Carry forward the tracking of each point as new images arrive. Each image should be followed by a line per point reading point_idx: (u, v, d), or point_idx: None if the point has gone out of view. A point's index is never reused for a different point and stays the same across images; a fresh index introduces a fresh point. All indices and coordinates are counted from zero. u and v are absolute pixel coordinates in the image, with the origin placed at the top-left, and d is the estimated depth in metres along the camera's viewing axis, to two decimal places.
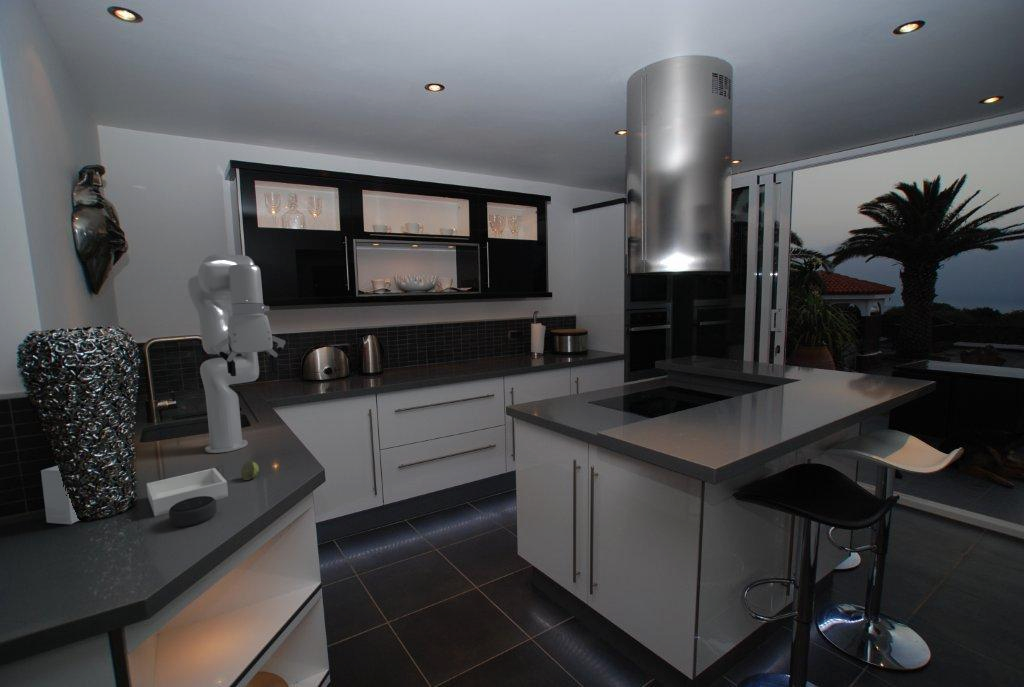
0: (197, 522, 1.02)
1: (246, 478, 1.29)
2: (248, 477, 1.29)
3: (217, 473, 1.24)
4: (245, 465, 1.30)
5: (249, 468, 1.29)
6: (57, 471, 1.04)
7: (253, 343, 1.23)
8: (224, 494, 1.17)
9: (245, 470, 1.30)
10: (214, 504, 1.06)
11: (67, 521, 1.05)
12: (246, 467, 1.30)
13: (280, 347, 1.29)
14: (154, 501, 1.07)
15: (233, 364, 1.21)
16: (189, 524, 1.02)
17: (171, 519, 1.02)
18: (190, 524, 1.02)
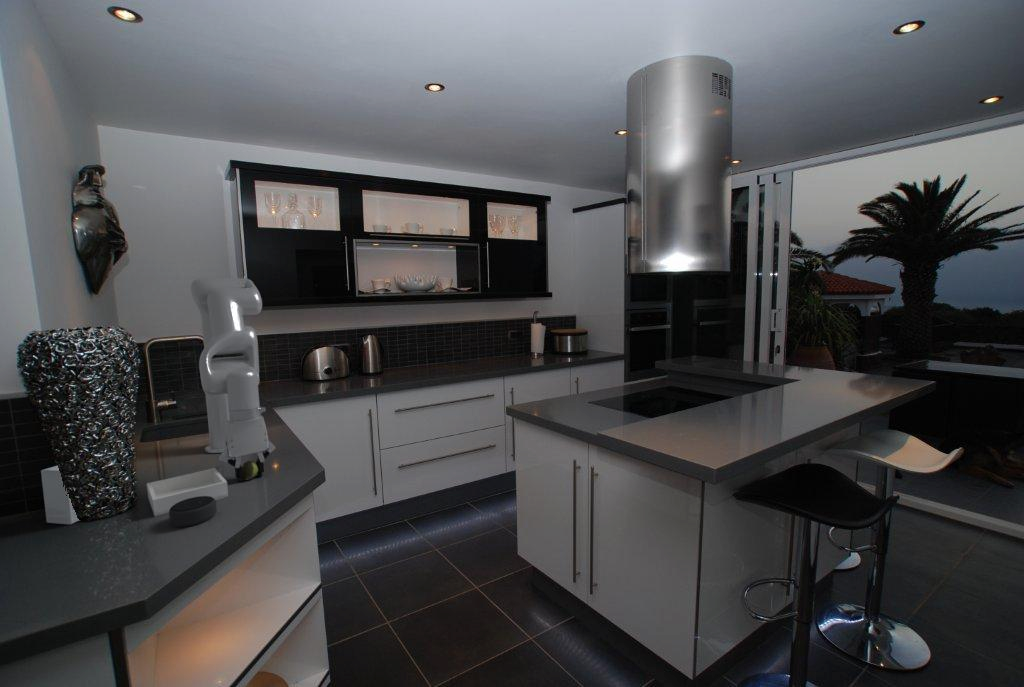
0: (197, 522, 1.02)
1: (245, 478, 1.29)
2: (247, 477, 1.29)
3: (217, 473, 1.24)
4: (244, 465, 1.30)
5: (248, 468, 1.29)
6: (57, 471, 1.04)
7: (249, 446, 1.28)
8: (224, 494, 1.17)
9: (244, 470, 1.30)
10: (214, 504, 1.06)
11: (67, 521, 1.05)
12: (245, 467, 1.30)
13: (268, 451, 1.33)
14: (154, 501, 1.07)
15: (241, 470, 1.27)
16: (189, 524, 1.02)
17: (171, 519, 1.02)
18: (190, 524, 1.02)
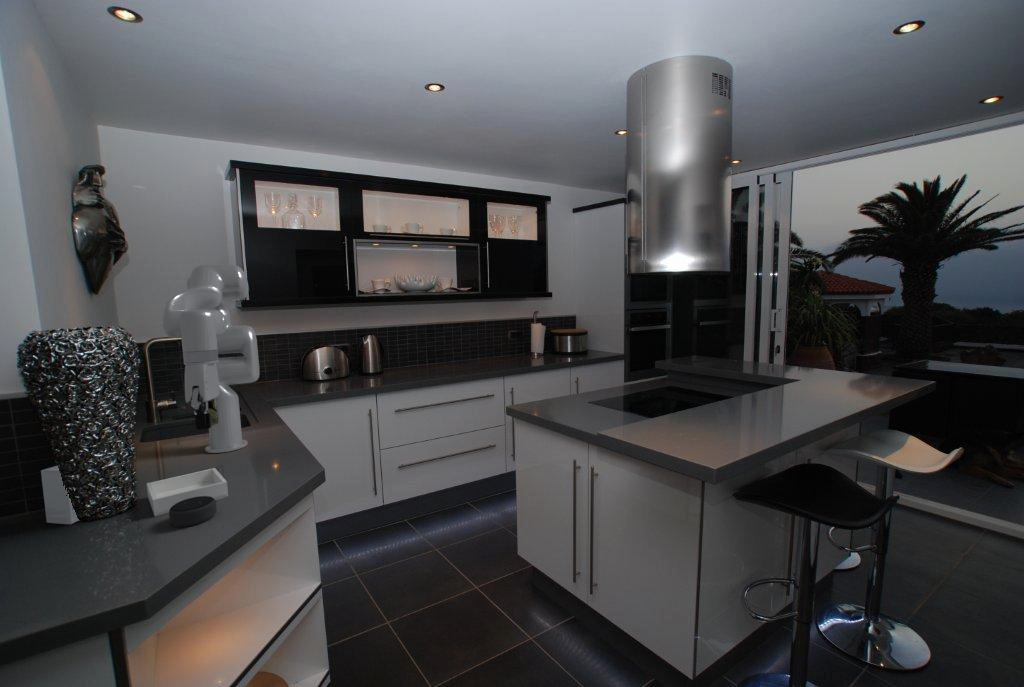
0: (197, 522, 1.02)
1: None
2: (212, 424, 1.21)
3: (217, 473, 1.24)
4: None
5: None
6: (57, 471, 1.04)
7: (214, 390, 1.21)
8: (224, 494, 1.17)
9: None
10: (214, 504, 1.06)
11: (67, 521, 1.05)
12: None
13: (215, 398, 1.26)
14: (154, 501, 1.07)
15: (209, 416, 1.19)
16: (189, 524, 1.02)
17: (171, 519, 1.02)
18: (190, 524, 1.02)
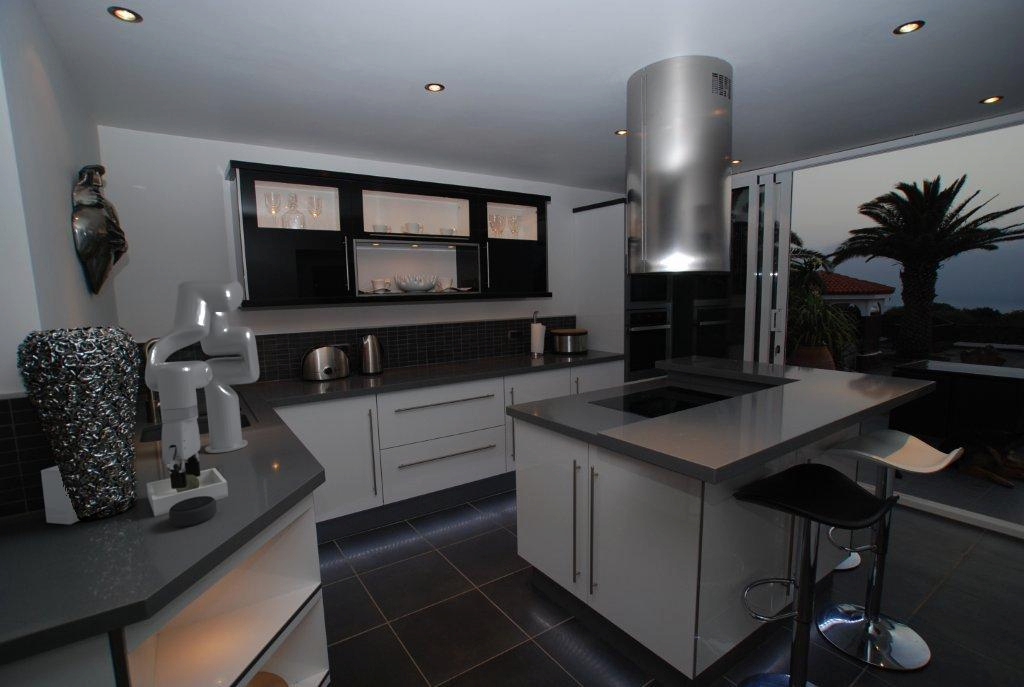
0: (197, 522, 1.02)
1: None
2: None
3: (217, 473, 1.24)
4: None
5: (190, 482, 1.18)
6: (57, 471, 1.04)
7: (193, 446, 1.18)
8: (224, 494, 1.17)
9: None
10: (214, 504, 1.06)
11: (67, 521, 1.05)
12: None
13: None
14: (154, 501, 1.07)
15: (185, 474, 1.14)
16: (189, 524, 1.02)
17: (171, 519, 1.02)
18: (190, 524, 1.02)
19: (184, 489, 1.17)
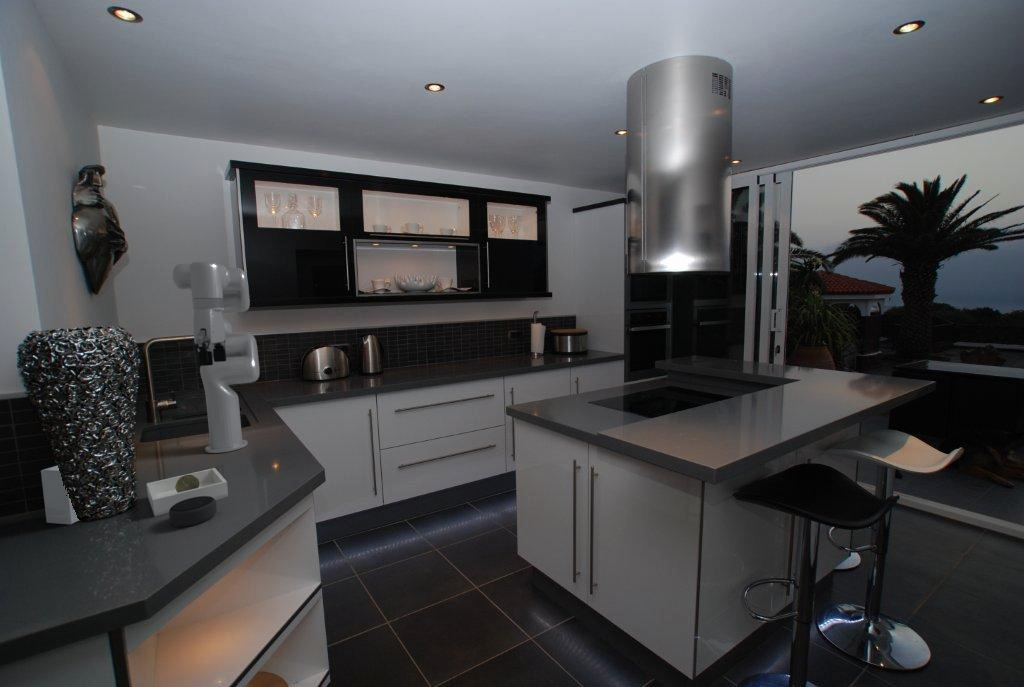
0: (197, 522, 1.02)
1: None
2: None
3: (217, 473, 1.24)
4: (180, 481, 1.17)
5: (189, 482, 1.18)
6: (57, 471, 1.04)
7: (220, 334, 1.35)
8: (224, 494, 1.17)
9: (183, 486, 1.17)
10: (214, 504, 1.06)
11: (67, 521, 1.05)
12: (183, 483, 1.17)
13: (223, 339, 1.42)
14: (154, 501, 1.07)
15: (211, 354, 1.31)
16: (189, 524, 1.02)
17: (171, 519, 1.02)
18: (190, 524, 1.02)
19: (184, 489, 1.17)
